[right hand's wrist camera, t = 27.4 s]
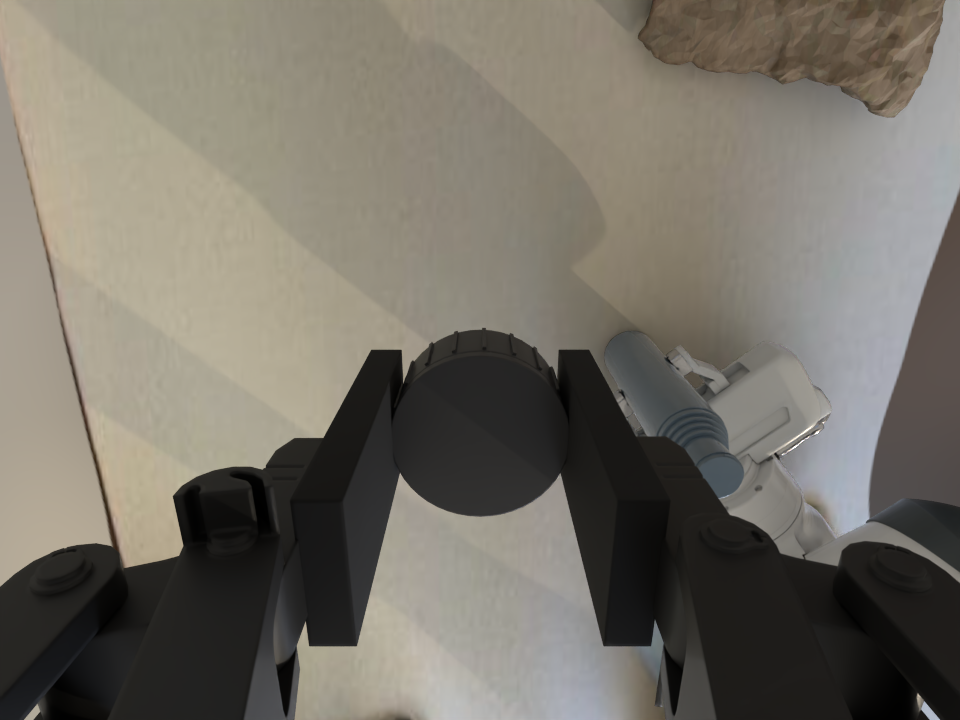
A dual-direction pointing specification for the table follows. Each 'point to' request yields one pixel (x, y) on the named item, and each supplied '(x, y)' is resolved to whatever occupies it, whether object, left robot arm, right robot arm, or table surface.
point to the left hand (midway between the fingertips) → (642, 375)
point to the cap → (480, 424)
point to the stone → (805, 42)
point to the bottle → (673, 408)
